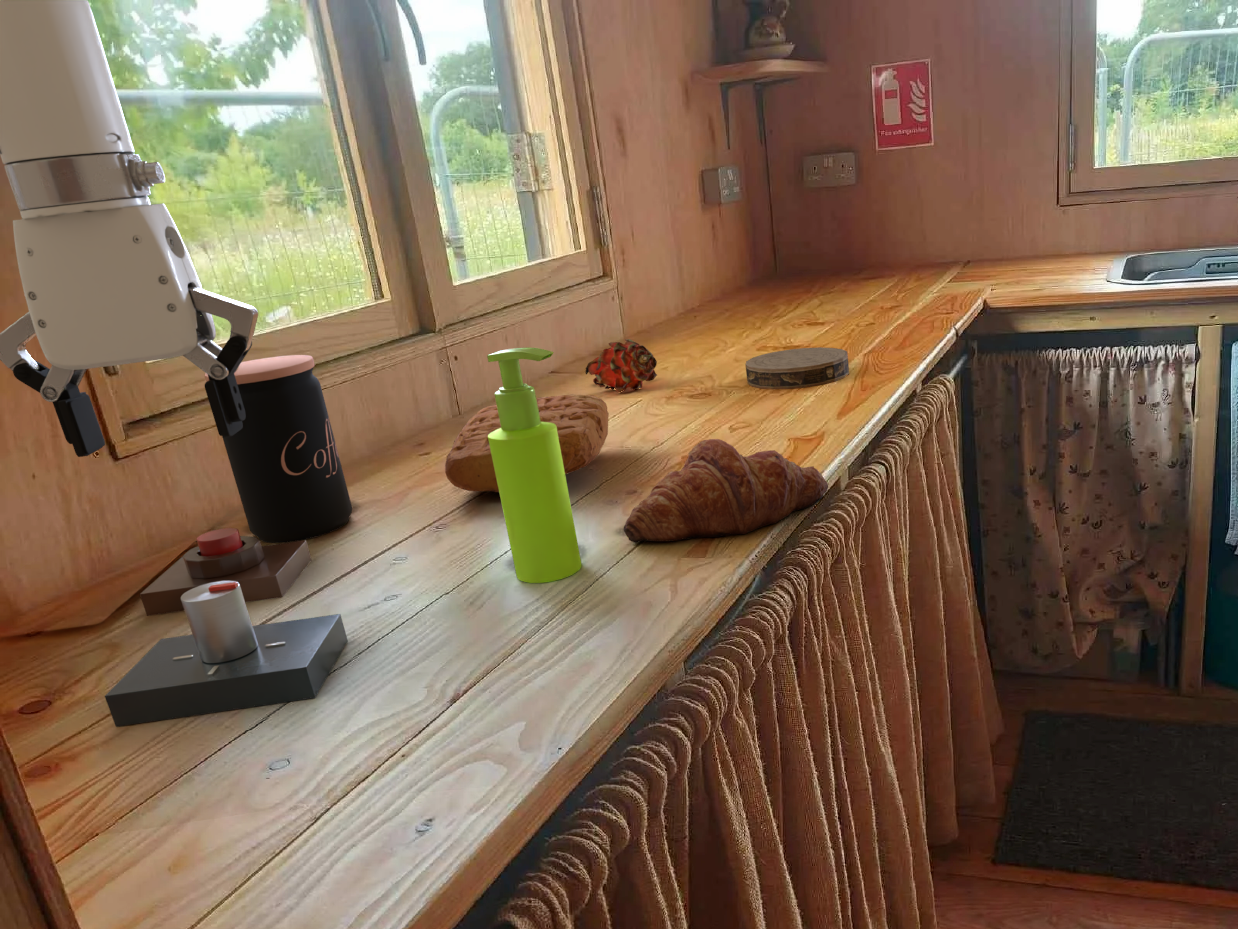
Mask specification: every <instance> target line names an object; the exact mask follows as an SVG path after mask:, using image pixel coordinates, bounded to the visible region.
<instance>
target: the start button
mask: <svg viewBox="0 0 1238 929" xmlns="http://www.w3.org/2000/svg"><path fill="white" fill-rule="evenodd" d="M240 536H241V535H240V530H239V529H238V528H235V527H224V528H218V529H213V530H210V531H208V532H204V533H202V534H200V535H199V536H197V537H196V542H197V546H199V549H200V552H201V555H202V556H214V555H221V554H224V553H228V552H232V551H234V550H237V549H239V548H241V547H243V544H242V541H241V538H240Z"/></svg>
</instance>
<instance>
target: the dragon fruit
mask: <svg viewBox="0 0 1238 929" xmlns="http://www.w3.org/2000/svg"><path fill="white" fill-rule="evenodd" d="M624 341H625V343H622V342H621V341H615V342H614V341H613V342H612V341H611V342H608V346H610V347H608V348H604V349H603V350H602V352H601V353H600V354H599V356H597V357H595V358H594V359H592V360H591V361H589V362H588V363H587V365H586V367H585V371H583V373H585V375H588V374H589V375H591V376H593V375H594V376H595V377H594V378H593V379H592V382H593V384H594V385H595V386H598V387H599V388H604V389H605V390H613V389H614V388H615V389H616V391H615V392H616V393H618V392H621V391H623V390H624V391H625V390H626V389H627V388H630V389H631V390H632V391H636V390H635V389H639V388H642V389H643V382H652V381H653V380H655V379H656V377H657V376H658V374H657V372H656V371H655V368H656V367H657V363H658V361H657V359H656V358H655V357H654V354H653V353H652V352H651V351H650V350H649V349H648V348H646V346H644V345H641V344H639V343H638V342H636V341H634V340H632V339H629V338H627V339H625V338H624ZM609 388H611V389H609ZM624 391H623V392H624ZM621 393H622V392H621Z"/></svg>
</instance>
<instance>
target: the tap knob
mask: <svg viewBox="0 0 1238 929" xmlns="http://www.w3.org/2000/svg"><path fill="white" fill-rule="evenodd" d="M181 601H182V604H183V607H184V610H185V611H184V614H185V616H186V619H187V621H188V625H189V629H190V631H191V635H193V638H194V641H195V644H196V647H197V650H198V653H199V656H200V659H201V660H202V661H203V662H205V663H221V662H227V661H231V660H234V659H237V658H240V657H242V656H245V655H247V654H249V653H250V652H252V651H253V650H255V649H256V647H257V645H258V643H257V639H256V636H255V633H254V630H253V626H254V625H253V623H252V621H251V617H250V614H249V611H248V607H247V604H246V602H245V600H244V597H243V594H242V591H241V587H240V584H239V583H238V582H236V581H217V582H212V583H208V584H204V585H201V586H198V587H195V588H193V589H191V590H189V591H187V592H185V593H184V594H183V595H182V596H181Z"/></svg>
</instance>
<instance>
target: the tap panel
mask: <svg viewBox="0 0 1238 929" xmlns="http://www.w3.org/2000/svg"><path fill="white" fill-rule="evenodd" d="M252 626H253V630H254V633H255V636H256V639H257V643H258V645H257V647H256V649H255V650H253V651H252V652H250V653H249V654H247V655H245V656H242V657H240V658H237V659H234V660H231V661H227V662H221V663H205V662H203V661H202V660H201V659H200V656H199V653H198V650H197V647H196V644H195V641H194V638H193V635H192V634H186V635H185V634H184V635H179V636H172V637H164V638H160V639H159V640H158V641H157V642H156V643H155V644H154V645H153V646H152V647H151V648H150V649H149V650H148V651H147V652H146V653H145V654H144V655H143V657H141V658H140V659H139V660H138V661H137V662H136V663H135V664H134V666H133V667H132V668H130V670H128V672H126V674H124V676H123V677H121V678H120V680H119V681H118V682H117V683H116V684H114V686H113V687H112V688H110V690H109V691H108V692H107V693H106V694H105V695H104V699H105V701H106V704H107V707H108V709H109V713H110V715H111V718H112V720H113V723H114V725H115V727H116V728H117V727H124V726H130V725H138V724H144V723H151V722H158V721H165V720H171V719H179V718H186V717H194V716H200V715H206V714H213V713H221V712H228V711H233V710H240V709H241V710H242V709H247V708H254V707H263V706H268V705H275V704H281V703H282V704H283V703H289V702H295V701H303V700H309V699H315V698H316V697H317V695H318V693H319V691H320V690H321V688H322V687H323V685H324V683H325V682H326V680H327V679H328V676H329V675H330V673H331V671H332V670H333V668H334V667H335V665H336V663H337V661H338V659H339V658H340V656H341V654H342V653H343V651H344V649H345V647H346V646H347V644H348V642H349V640H348V636H347V632H346V629H345V625H344V621H343V618H342V614H341V613H335V614H329V615H322V616H314V617H307V618H306V617H305V618H301V619H300V618H299V619H295V620H294V619H293V620H285V621H279V622H271V623H264V624H257V625H252Z"/></svg>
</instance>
